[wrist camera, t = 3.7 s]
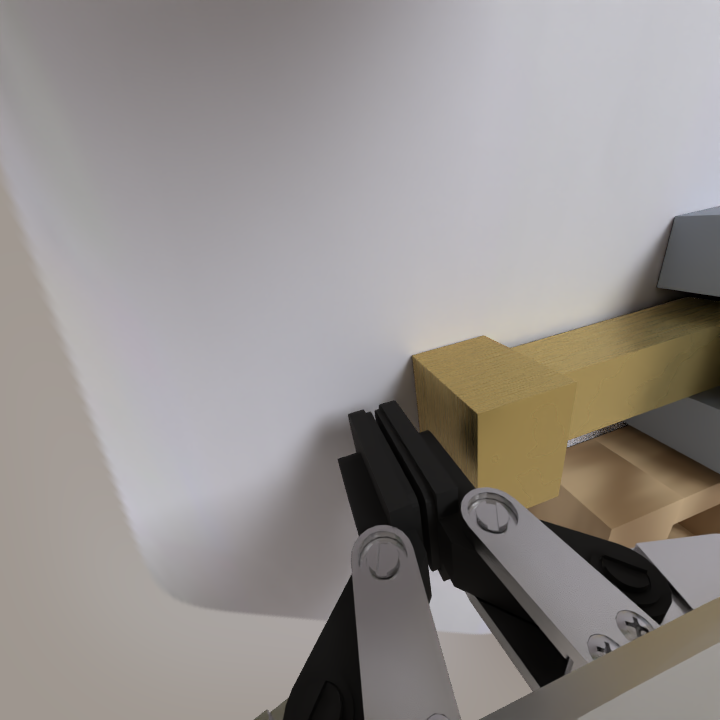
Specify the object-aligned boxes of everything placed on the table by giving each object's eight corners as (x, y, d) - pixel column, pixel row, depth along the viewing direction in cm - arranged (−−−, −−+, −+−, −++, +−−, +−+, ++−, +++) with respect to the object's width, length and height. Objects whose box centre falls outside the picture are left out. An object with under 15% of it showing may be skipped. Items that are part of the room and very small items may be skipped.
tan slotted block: (684, 404, 17) (793, 450, 13) (649, 501, 20) (729, 558, 17) (533, 460, 15) (611, 529, 12) (523, 555, 19) (581, 631, 15)
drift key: (685, 279, 13) (836, 297, 10) (659, 367, 15) (777, 409, 12) (412, 355, 11) (477, 414, 8) (421, 446, 13) (477, 528, 9)
